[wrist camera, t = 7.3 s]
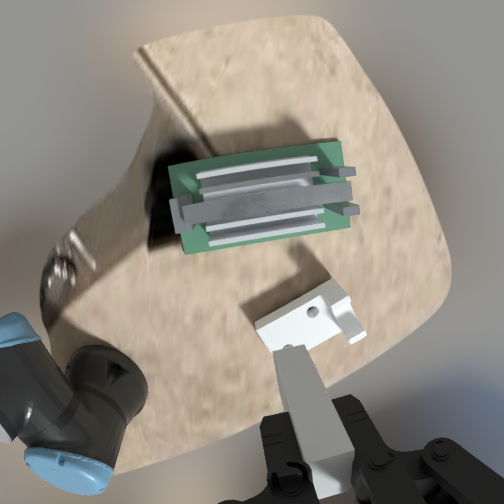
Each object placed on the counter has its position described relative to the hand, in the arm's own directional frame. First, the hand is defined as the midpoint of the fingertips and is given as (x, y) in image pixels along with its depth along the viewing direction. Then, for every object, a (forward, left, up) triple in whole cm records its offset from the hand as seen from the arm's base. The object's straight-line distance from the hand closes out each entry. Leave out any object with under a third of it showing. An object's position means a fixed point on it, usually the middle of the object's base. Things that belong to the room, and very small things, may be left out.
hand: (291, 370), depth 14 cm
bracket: (+6, -14, -30) cm, 34 cm away
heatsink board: (+2, +5, -30) cm, 30 cm away
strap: (+2, +5, -23) cm, 24 cm away
